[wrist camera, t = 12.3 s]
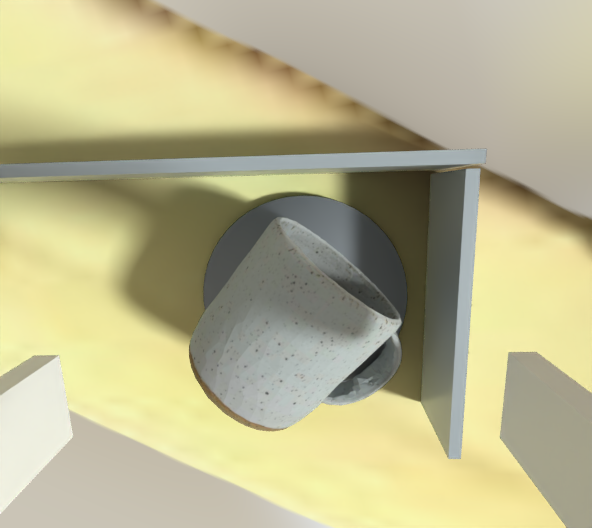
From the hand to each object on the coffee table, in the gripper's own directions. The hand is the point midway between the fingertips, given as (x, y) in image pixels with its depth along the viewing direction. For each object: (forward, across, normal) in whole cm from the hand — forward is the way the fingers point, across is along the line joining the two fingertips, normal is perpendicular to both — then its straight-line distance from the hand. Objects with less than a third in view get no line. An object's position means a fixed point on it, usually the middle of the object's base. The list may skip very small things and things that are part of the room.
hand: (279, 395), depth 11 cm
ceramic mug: (+11, +1, -1) cm, 11 cm away
